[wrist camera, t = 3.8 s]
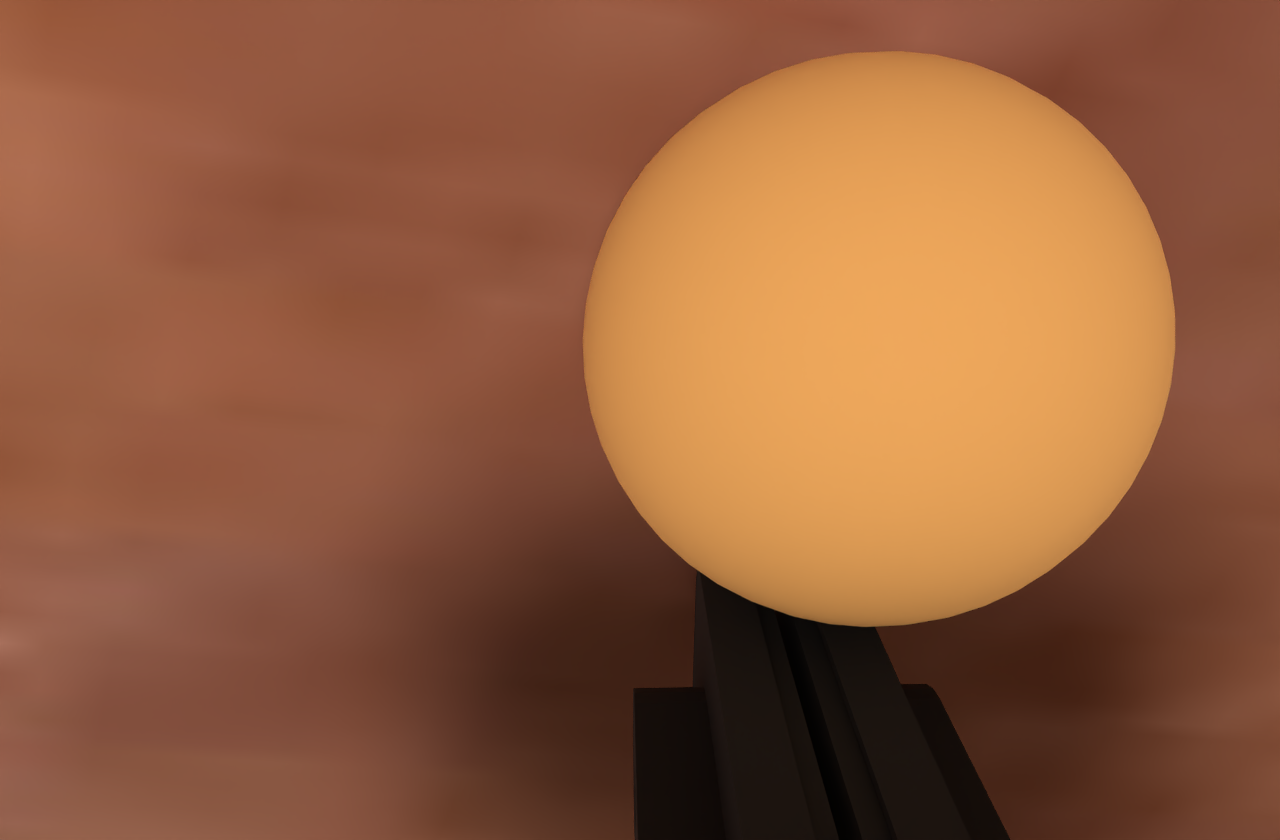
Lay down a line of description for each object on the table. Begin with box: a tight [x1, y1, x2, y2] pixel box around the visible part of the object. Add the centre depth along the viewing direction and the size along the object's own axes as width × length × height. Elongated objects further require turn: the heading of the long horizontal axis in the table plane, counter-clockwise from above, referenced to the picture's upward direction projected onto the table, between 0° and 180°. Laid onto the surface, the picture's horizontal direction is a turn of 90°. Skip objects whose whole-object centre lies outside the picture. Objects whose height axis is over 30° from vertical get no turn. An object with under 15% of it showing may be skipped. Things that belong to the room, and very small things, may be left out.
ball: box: [583, 51, 1175, 627], centre depth 8 cm, size 5×5×5 cm
